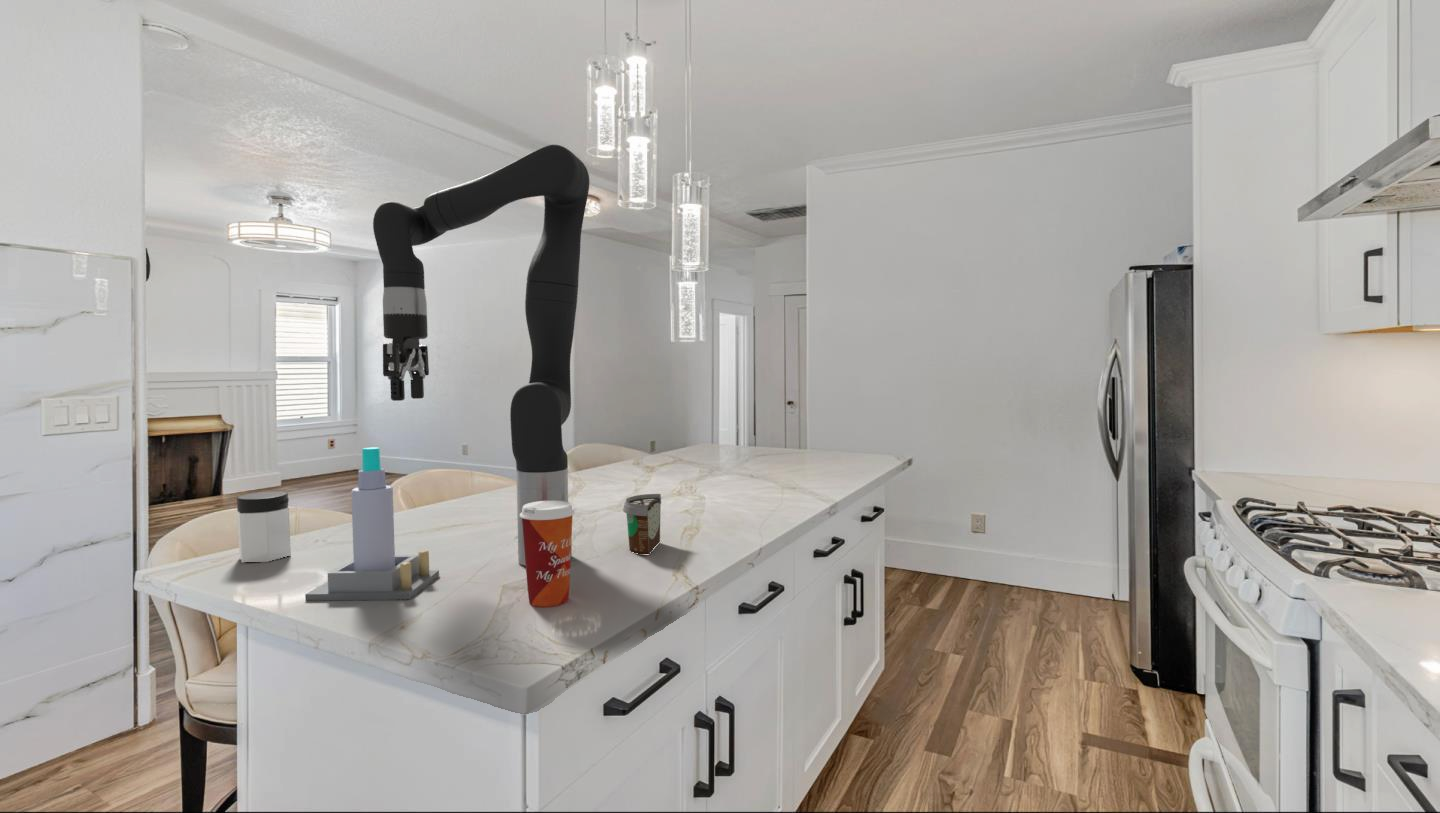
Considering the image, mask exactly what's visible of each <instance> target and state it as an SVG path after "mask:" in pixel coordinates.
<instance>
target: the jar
mask: <svg viewBox="0 0 1440 813" xmlns="http://www.w3.org/2000/svg"><path fill="white" fill-rule="evenodd" d="M288 494H289V493H288V492H285V491H261V492H260V491H259V492H254V493H246V494H243V495H239V496H238V497H236V506H237V509H236V510H237V512H236V514H237V532H238V536H237V537H238V555H239V559H240V561H241V564H244V563H243V562H261V563H270V562H269V561H271V562H273V561H272V560H274V561H277V560H276V559H278V560H281V559H280V558H282V559H284V558H283V557H285V558H288V557H287V556H289V557H291V556H292V552H291V551H292V547H291V546H292V545H291V522H290V508H289V502H290V501H289V496H288ZM290 555H291V556H290Z"/></svg>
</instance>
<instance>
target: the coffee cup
mask: <svg viewBox="0 0 1440 813" xmlns="http://www.w3.org/2000/svg"><path fill="white" fill-rule="evenodd" d="M575 512H576V511H575V510H574V509H573V506H572V504H571V503H570V502H569V501H568V502H565V501H538V502H532V503H528V504H525V505H524V506H523V507H522V512H521V513H520V517H521V518H522V525H523V538H524V551H525V563H526V566H525V573H526V584H527V585H526V586H527V596H528V602H529V605H530V606H533V607H537V608H552V607H558V606H562V605H564V604H566V603H567V602H568V601H569V597H570V596H569V595H570V584H571V583H570V581H571V560H572V559H571V558H572V556H571V539H572V536H573V535H572V532H573V516H574V515H575V514H576V513H575ZM565 602H566V603H565ZM561 604H562V605H561Z"/></svg>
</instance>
